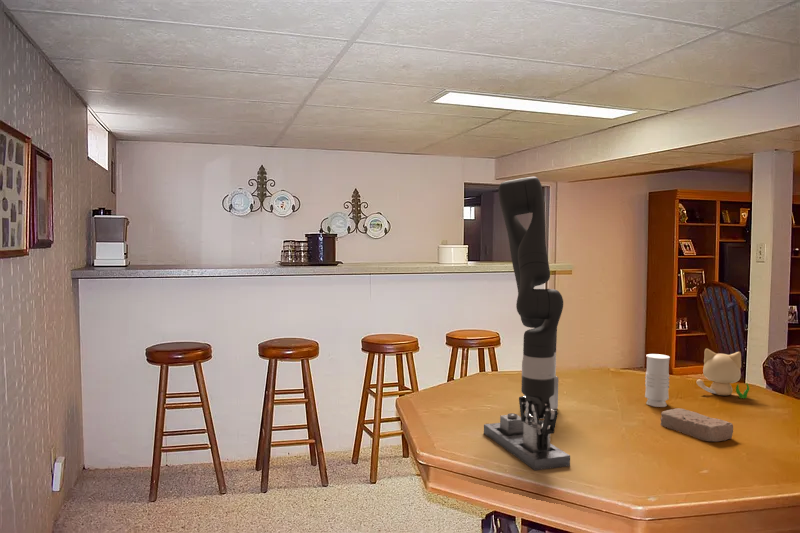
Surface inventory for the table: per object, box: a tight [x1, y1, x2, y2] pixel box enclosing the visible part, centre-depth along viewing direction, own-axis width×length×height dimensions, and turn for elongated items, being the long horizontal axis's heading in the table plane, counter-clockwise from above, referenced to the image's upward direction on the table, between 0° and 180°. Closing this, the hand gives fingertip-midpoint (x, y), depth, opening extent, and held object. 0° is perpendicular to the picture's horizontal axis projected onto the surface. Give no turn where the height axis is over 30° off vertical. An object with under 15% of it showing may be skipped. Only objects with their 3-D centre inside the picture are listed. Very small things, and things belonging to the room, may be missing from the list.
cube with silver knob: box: [523, 419, 551, 453], centre depth 143 cm, size 4×4×7 cm
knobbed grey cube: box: [499, 412, 524, 436], centre depth 154 cm, size 4×4×7 cm
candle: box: [644, 353, 671, 408], centre depth 188 cm, size 7×7×15 cm
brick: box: [660, 407, 734, 443], centre depth 163 cm, size 17×8×5 cm, turn 26°
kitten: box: [696, 348, 750, 399], centre depth 200 cm, size 15×10×15 cm
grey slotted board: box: [483, 422, 571, 471], centre depth 149 cm, size 9×26×2 cm, turn 18°
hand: (536, 445), depth 143 cm, fingers closed on cube with silver knob, 4 cm apart
